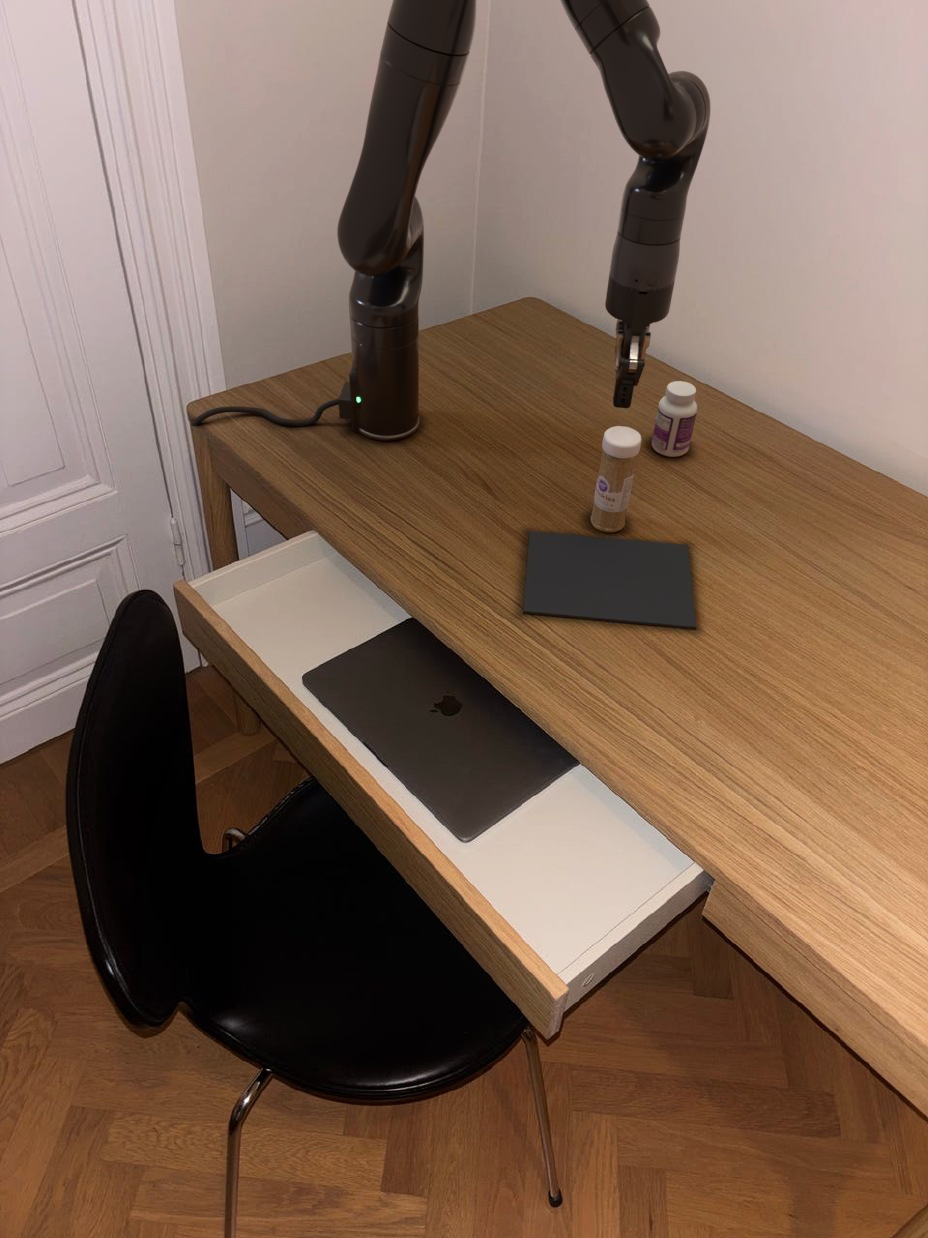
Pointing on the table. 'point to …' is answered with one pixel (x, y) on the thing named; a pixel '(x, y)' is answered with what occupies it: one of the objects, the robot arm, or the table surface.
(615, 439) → the sprinkles bottle
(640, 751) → the table surface
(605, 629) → the table surface
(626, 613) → the mat
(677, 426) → the pill bottle
